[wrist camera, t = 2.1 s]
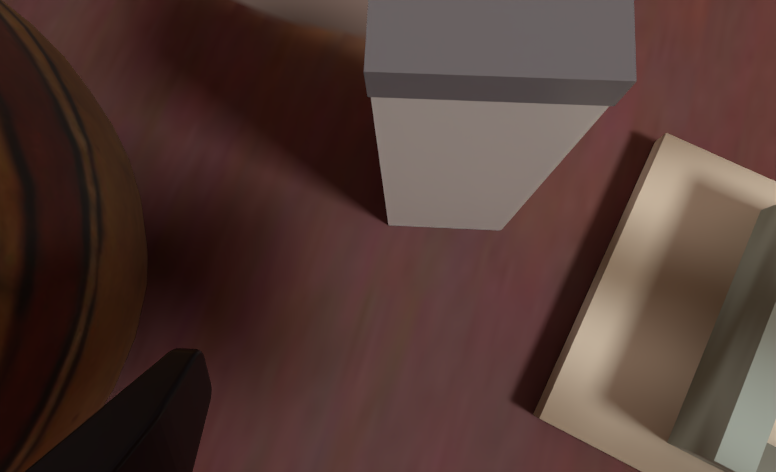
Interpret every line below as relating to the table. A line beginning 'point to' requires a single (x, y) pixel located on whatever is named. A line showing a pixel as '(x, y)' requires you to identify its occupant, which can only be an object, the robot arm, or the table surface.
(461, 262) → the table surface
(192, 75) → the table surface
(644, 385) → the end holder
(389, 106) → the connector plug
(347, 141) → the table surface
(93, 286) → the ceramic pitcher
